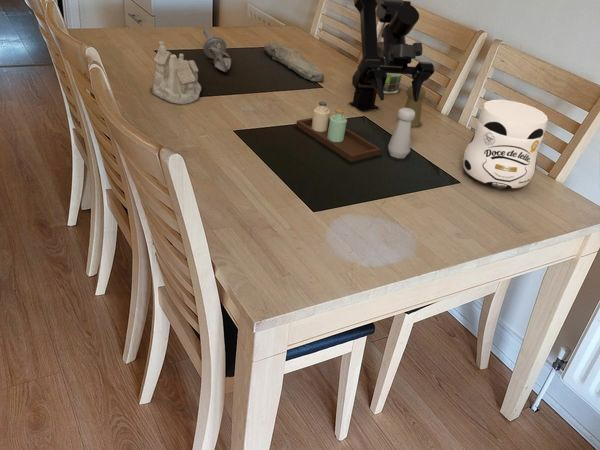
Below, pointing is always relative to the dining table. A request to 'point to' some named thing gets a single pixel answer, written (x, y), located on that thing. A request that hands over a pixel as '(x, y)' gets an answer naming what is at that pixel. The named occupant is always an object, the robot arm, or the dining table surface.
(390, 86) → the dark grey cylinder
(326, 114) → the cream bottle
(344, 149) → the tray
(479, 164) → the doce de leite jar
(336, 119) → the sage bottle
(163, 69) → the ceramic cottage
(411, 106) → the olive pawn
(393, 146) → the salt shaker
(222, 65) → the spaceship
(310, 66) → the long grey stone
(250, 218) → the dining table surface
